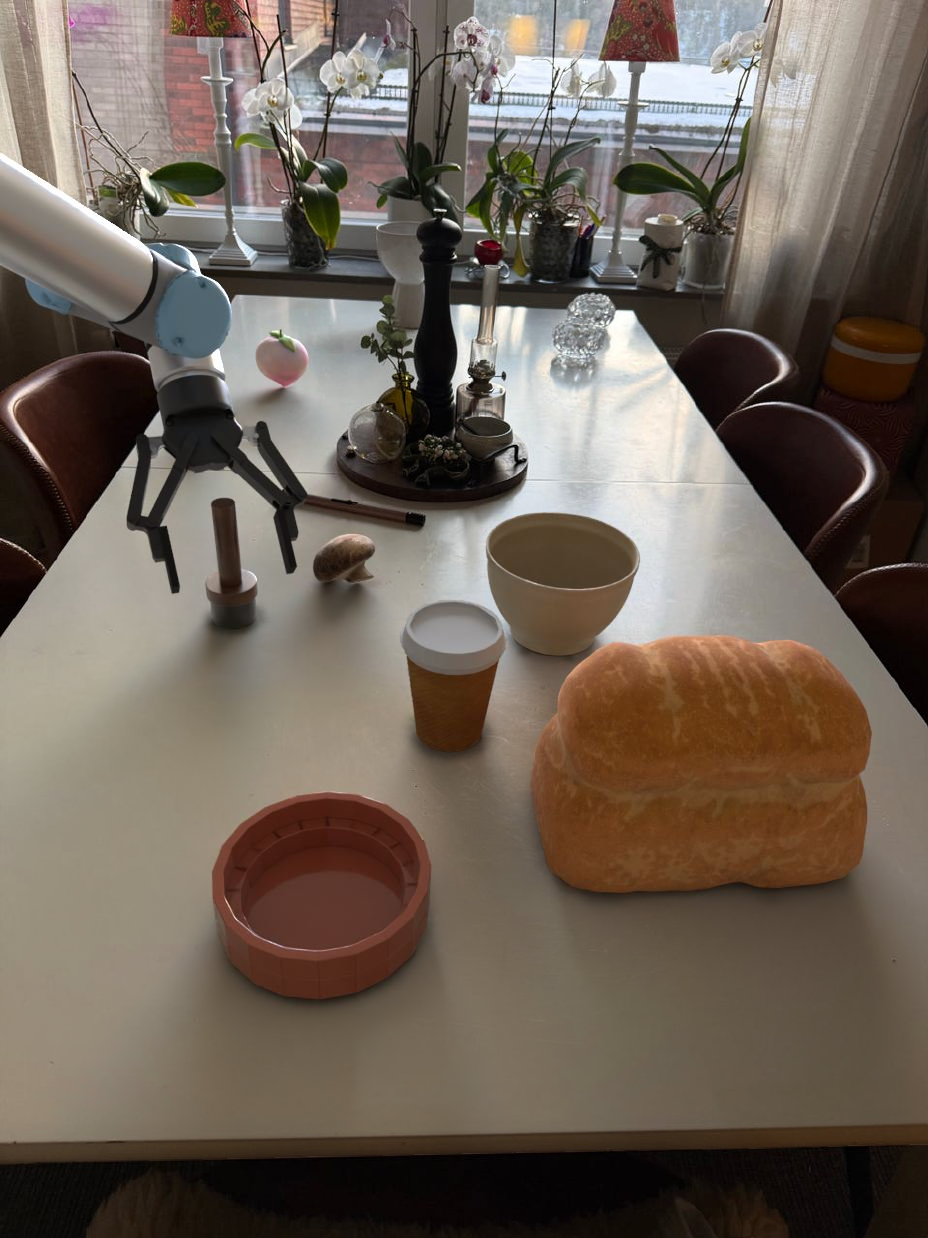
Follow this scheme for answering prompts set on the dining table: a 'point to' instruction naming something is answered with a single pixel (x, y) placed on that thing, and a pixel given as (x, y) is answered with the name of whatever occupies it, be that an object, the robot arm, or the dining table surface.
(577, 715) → the bread
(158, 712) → the dining table surface
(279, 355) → the decorative fruit
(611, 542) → the planter bowl
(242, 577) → the brush
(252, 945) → the bowl
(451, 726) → the disposable coffee cup
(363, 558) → the mushroom
